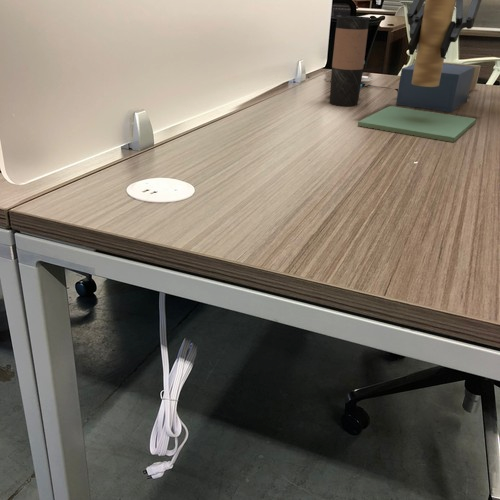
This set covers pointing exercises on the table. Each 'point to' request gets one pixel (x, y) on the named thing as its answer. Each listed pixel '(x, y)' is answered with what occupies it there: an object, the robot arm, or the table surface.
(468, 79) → the cabinet
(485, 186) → the table surface
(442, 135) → the mat
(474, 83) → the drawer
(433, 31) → the pepper mill
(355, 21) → the travel mug
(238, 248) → the table surface
